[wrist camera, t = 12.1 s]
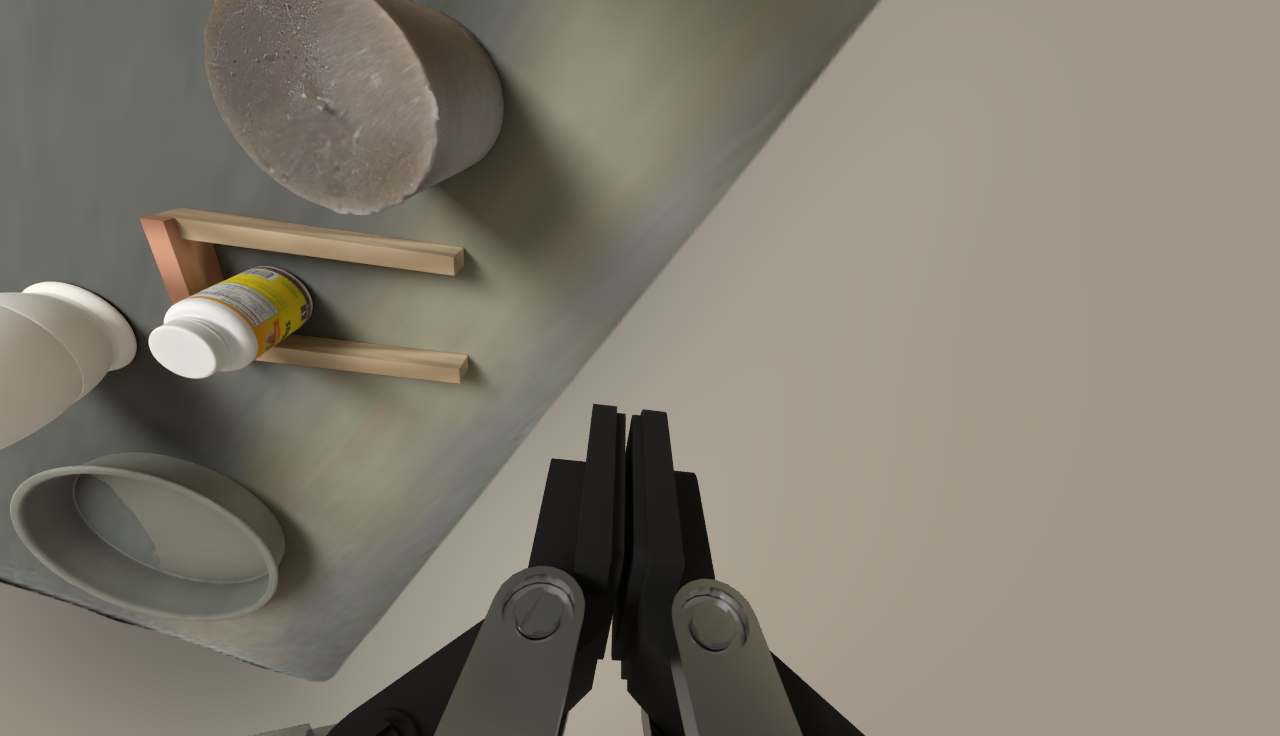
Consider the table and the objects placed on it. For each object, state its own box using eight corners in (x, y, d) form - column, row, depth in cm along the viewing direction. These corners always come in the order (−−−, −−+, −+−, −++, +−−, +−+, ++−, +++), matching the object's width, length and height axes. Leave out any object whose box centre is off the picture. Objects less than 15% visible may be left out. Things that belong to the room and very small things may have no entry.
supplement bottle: (285, 336, 41) (193, 402, 32) (229, 284, 38) (112, 340, 30) (331, 306, 40) (248, 366, 31) (276, 250, 37) (168, 299, 28)
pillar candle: (337, 17, 30) (113, -36, 17) (487, 0, 29) (375, -67, 16) (392, 178, 35) (253, 232, 22) (521, 165, 34) (456, 212, 22)
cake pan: (98, 395, 44) (46, 424, 40) (340, 522, 53) (317, 555, 49) (26, 521, 52) (-22, 556, 48) (247, 612, 62) (221, 647, 58)
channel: (181, 207, 35) (139, 218, 32) (463, 247, 37) (448, 260, 34) (226, 340, 41) (194, 360, 38) (468, 369, 43) (456, 389, 40)
